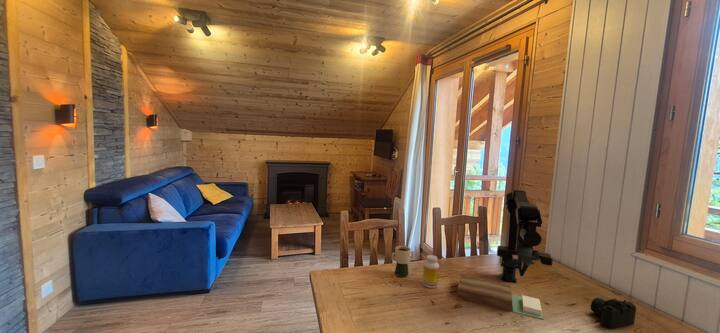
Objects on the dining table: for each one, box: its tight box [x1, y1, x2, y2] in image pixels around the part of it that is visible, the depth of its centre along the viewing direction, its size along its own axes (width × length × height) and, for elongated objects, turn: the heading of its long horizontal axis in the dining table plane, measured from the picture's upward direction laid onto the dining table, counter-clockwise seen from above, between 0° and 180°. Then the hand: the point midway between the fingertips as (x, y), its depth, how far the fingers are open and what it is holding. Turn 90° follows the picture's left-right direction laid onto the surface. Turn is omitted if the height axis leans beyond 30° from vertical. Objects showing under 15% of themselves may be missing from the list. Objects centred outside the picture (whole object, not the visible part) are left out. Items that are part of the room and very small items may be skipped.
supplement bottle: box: [422, 254, 440, 289], centre depth 132 cm, size 7×7×13 cm
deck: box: [456, 274, 513, 312], centre depth 124 cm, size 14×20×4 cm
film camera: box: [590, 297, 637, 330], centre depth 111 cm, size 15×10×9 cm, turn 106°
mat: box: [512, 293, 544, 320], centre depth 118 cm, size 14×10×1 cm
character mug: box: [391, 245, 414, 278], centre depth 140 cm, size 11×7×13 cm, turn 104°
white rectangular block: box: [522, 294, 542, 316], centre depth 117 cm, size 9×6×2 cm, turn 154°
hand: (521, 276), depth 118 cm, fingers closed
